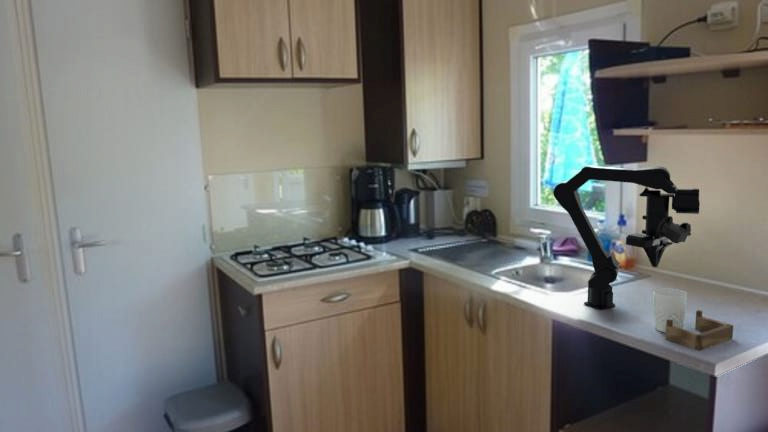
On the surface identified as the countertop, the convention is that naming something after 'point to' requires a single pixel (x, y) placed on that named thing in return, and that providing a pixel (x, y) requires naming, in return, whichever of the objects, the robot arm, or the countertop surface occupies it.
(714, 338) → the rack
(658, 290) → the white cup
